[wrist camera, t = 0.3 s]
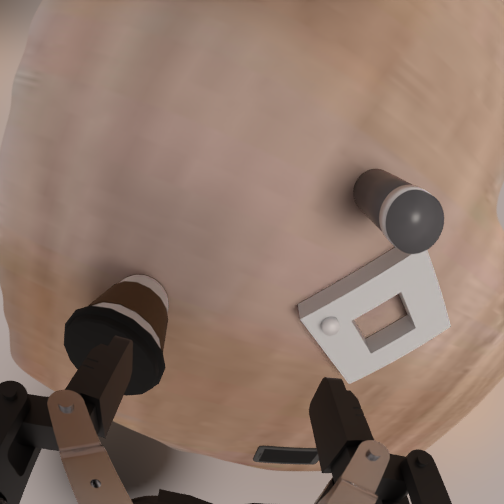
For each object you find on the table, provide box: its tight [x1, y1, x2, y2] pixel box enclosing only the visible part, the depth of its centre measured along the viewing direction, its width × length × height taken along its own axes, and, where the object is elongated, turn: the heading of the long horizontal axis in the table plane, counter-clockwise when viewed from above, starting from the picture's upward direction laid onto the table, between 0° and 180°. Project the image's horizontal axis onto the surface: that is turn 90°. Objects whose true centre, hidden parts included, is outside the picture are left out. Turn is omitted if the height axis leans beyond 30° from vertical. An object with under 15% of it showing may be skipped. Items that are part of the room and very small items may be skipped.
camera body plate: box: [298, 247, 451, 384], centre depth 34 cm, size 16×14×4 cm
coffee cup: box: [64, 275, 169, 395], centre depth 31 cm, size 11×11×12 cm
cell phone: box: [253, 446, 319, 464], centre depth 52 cm, size 7×14×1 cm, turn 80°
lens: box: [354, 169, 444, 254], centre depth 25 cm, size 5×5×10 cm
